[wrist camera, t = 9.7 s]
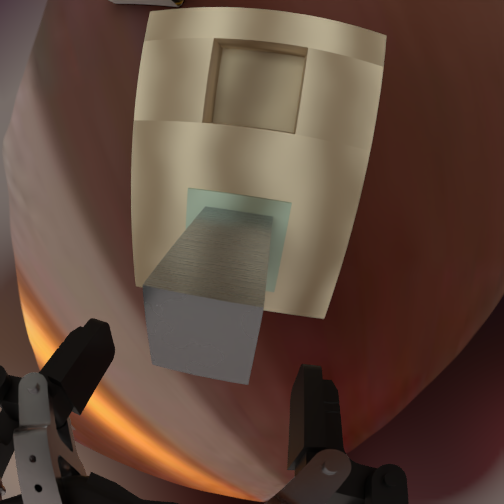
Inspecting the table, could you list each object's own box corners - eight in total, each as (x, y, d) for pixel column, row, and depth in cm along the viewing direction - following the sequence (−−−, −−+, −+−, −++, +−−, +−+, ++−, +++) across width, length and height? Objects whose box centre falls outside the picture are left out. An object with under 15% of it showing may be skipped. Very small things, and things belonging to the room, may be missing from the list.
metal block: (272, 216, 19) (263, 307, 10) (262, 275, 21) (248, 384, 12) (205, 206, 19) (142, 284, 10) (201, 265, 21) (152, 364, 12)
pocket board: (369, 48, 16) (387, 34, 13) (319, 292, 26) (324, 320, 22) (170, 25, 17) (149, 10, 13) (153, 264, 27) (134, 287, 23)
